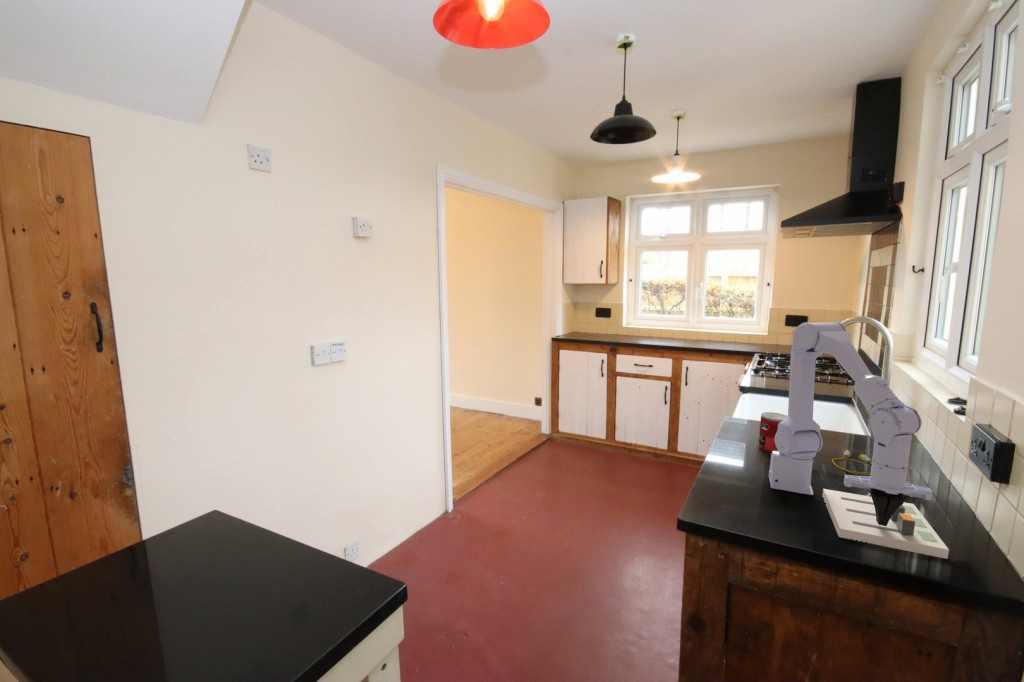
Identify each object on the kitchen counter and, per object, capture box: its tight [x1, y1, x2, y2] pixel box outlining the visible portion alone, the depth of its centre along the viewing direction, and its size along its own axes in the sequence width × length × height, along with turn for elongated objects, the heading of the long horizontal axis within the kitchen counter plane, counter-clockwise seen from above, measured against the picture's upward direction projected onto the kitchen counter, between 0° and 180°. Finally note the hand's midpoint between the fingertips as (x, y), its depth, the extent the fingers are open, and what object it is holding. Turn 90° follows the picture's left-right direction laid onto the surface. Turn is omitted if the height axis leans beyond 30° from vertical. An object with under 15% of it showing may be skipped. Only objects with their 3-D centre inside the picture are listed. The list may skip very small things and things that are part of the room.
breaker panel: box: [822, 488, 950, 560], centre depth 105 cm, size 18×20×5 cm
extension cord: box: [831, 449, 873, 476], centre depth 137 cm, size 12×16×2 cm
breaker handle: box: [897, 513, 915, 536], centre depth 98 cm, size 2×3×3 cm, turn 155°
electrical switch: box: [905, 463, 915, 498], centre depth 122 cm, size 9×5×9 cm, turn 141°
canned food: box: [758, 411, 788, 453], centre depth 148 cm, size 8×8×11 cm
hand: (881, 523), depth 100 cm, fingers closed
